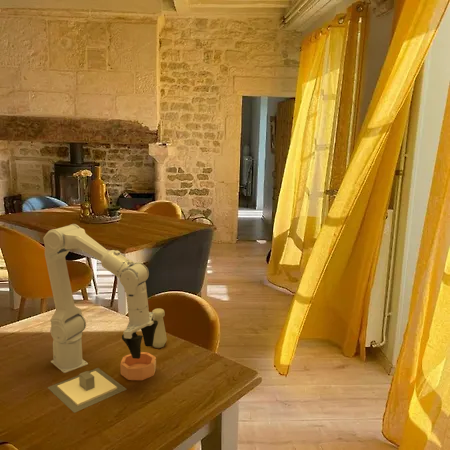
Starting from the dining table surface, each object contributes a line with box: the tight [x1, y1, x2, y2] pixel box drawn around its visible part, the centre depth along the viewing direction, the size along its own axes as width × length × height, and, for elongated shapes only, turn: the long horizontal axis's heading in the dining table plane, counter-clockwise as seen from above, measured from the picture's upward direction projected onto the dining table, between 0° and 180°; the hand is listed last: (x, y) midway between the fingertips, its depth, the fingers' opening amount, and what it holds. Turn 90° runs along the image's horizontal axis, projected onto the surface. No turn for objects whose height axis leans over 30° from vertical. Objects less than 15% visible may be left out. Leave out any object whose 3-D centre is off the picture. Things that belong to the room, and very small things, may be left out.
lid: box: [57, 370, 117, 406], centre depth 128 cm, size 12×12×4 cm
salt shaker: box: [151, 307, 168, 349], centre depth 155 cm, size 6×6×13 cm
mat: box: [46, 367, 128, 414], centre depth 129 cm, size 16×16×1 cm
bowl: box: [119, 351, 157, 381], centre depth 138 cm, size 10×10×4 cm
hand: (142, 351), depth 130 cm, fingers open, 7 cm apart
